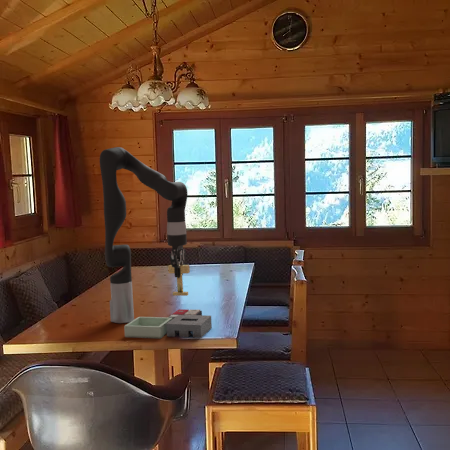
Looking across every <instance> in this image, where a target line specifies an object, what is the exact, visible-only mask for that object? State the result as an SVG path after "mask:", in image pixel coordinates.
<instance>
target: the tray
mask: <svg viewBox="0 0 450 450" xmlns="http://www.w3.org/2000/svg"><path fill="white" fill-rule="evenodd" d="M172 319H173V318H168V317H162V316H161V317H160V316H159V317H158V316H157V317H156V316H138V317H136V318H134V320H133V321H131V322H127V324H126V323H125V325H124V327H123V328H124V330H123V331H124V338H135V339H136V338H139V339H141V338H142V339H162V338H163V337H164V336H167V327H166V324H167V323H168V322H170V321H171V320H172Z"/></svg>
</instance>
